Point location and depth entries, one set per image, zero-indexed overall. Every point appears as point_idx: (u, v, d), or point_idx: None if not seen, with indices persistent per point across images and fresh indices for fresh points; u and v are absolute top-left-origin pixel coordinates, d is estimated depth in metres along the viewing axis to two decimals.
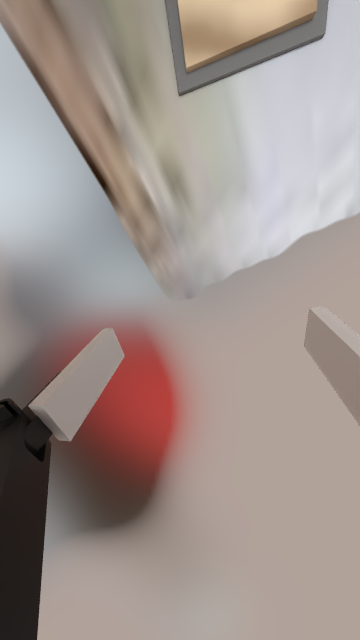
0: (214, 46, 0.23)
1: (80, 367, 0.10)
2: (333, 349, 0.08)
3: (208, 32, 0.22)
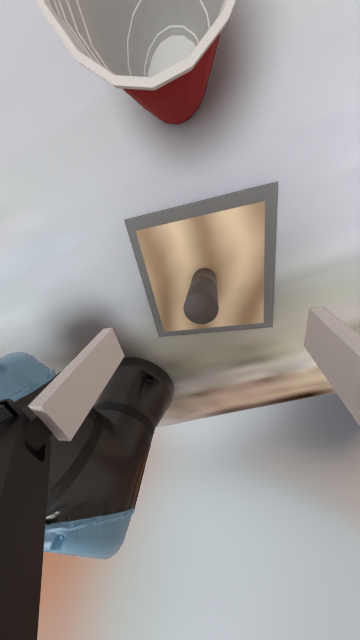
0: (258, 299, 0.25)
1: (80, 367, 0.10)
2: (334, 349, 0.08)
3: (248, 304, 0.25)
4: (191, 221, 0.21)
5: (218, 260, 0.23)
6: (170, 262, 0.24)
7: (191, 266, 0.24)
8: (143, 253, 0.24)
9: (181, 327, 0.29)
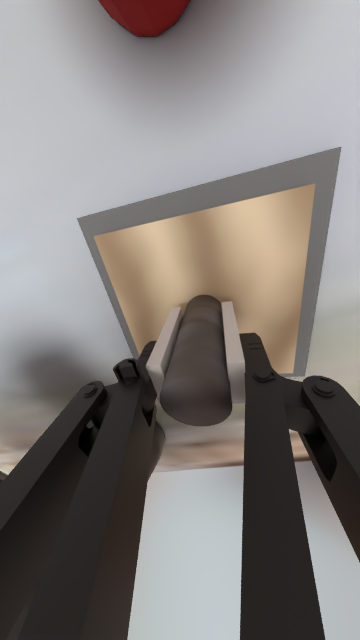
0: (287, 341, 0.16)
1: (171, 338, 0.11)
2: None
3: (271, 347, 0.16)
4: (182, 221, 0.13)
5: (227, 284, 0.14)
6: (151, 284, 0.15)
7: (184, 291, 0.15)
8: (108, 271, 0.15)
9: None
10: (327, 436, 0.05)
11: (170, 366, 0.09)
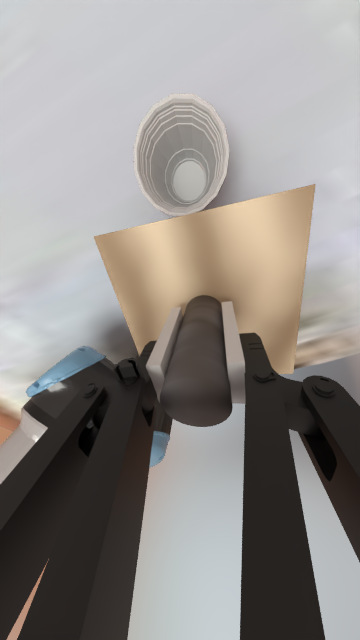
0: (287, 342, 0.16)
1: (171, 338, 0.11)
2: None
3: (271, 348, 0.16)
4: (182, 222, 0.13)
5: (227, 284, 0.14)
6: (151, 285, 0.15)
7: (184, 292, 0.15)
8: (109, 271, 0.15)
9: None
10: (327, 436, 0.05)
11: (170, 367, 0.09)
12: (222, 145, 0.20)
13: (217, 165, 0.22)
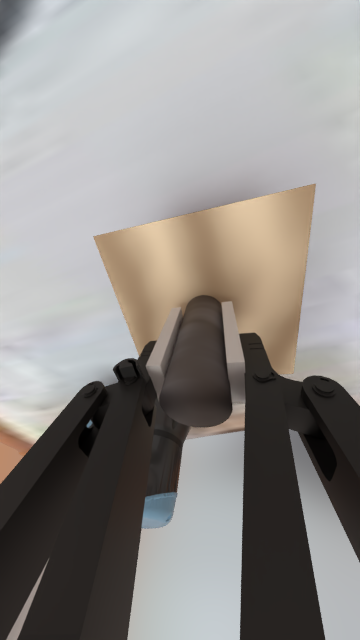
0: (287, 342, 0.16)
1: (171, 338, 0.11)
2: None
3: (271, 348, 0.16)
4: (182, 221, 0.13)
5: (227, 284, 0.14)
6: (151, 285, 0.15)
7: (183, 292, 0.15)
8: (108, 271, 0.15)
9: None
10: (327, 436, 0.05)
11: (170, 367, 0.09)
12: None
13: None
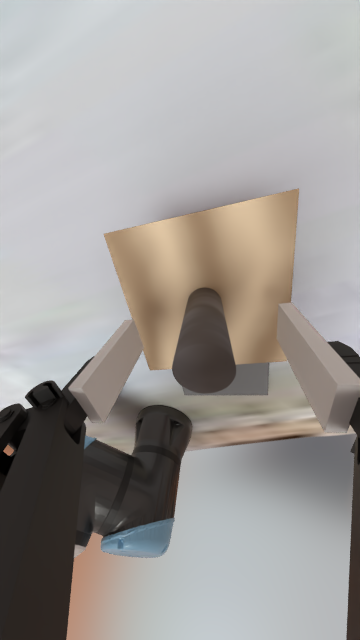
0: None
1: (110, 355, 0.11)
2: (293, 339, 0.10)
3: (266, 337, 0.18)
4: (185, 220, 0.14)
5: (225, 277, 0.16)
6: (156, 278, 0.17)
7: (186, 285, 0.17)
8: (116, 266, 0.17)
9: None
10: None
11: (180, 340, 0.10)
12: None
13: None
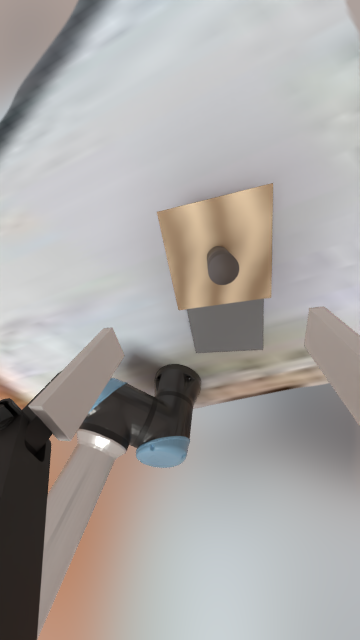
0: (266, 274, 0.27)
1: (80, 367, 0.10)
2: (333, 349, 0.08)
3: (257, 279, 0.28)
4: (207, 202, 0.24)
5: (231, 238, 0.26)
6: (187, 241, 0.27)
7: (206, 244, 0.26)
8: (162, 233, 0.26)
9: (195, 305, 0.31)
10: None
11: (211, 259, 0.20)
12: None
13: None
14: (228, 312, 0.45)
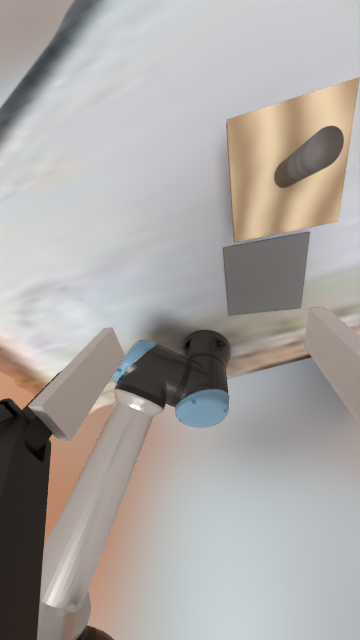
0: (336, 193, 0.26)
1: (80, 367, 0.10)
2: (333, 349, 0.08)
3: (326, 200, 0.26)
4: (284, 105, 0.23)
5: None
6: (256, 154, 0.25)
7: (276, 158, 0.25)
8: (230, 146, 0.25)
9: (253, 234, 0.29)
10: None
11: (306, 142, 0.18)
12: None
13: None
14: (268, 266, 0.43)
